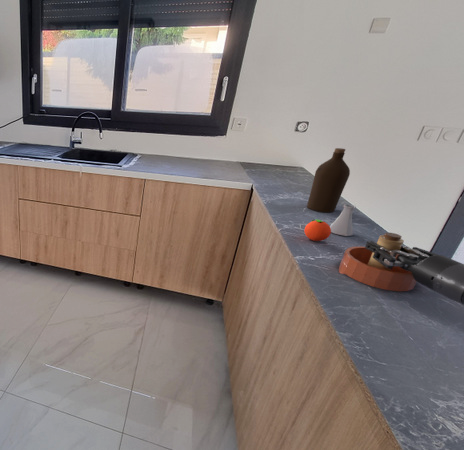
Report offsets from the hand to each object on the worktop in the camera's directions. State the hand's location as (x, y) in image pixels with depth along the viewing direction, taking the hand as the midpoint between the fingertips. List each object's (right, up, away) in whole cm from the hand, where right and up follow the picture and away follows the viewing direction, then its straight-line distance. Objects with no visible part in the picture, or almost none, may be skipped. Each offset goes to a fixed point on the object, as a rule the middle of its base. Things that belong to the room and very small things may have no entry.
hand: (376, 244), depth 82 cm
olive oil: (+25, +12, +49) cm, 56 cm away
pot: (0, -9, +1) cm, 10 cm away
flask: (+15, +2, +28) cm, 32 cm away
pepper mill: (0, -7, 0) cm, 7 cm away
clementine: (+2, 0, +23) cm, 23 cm away
